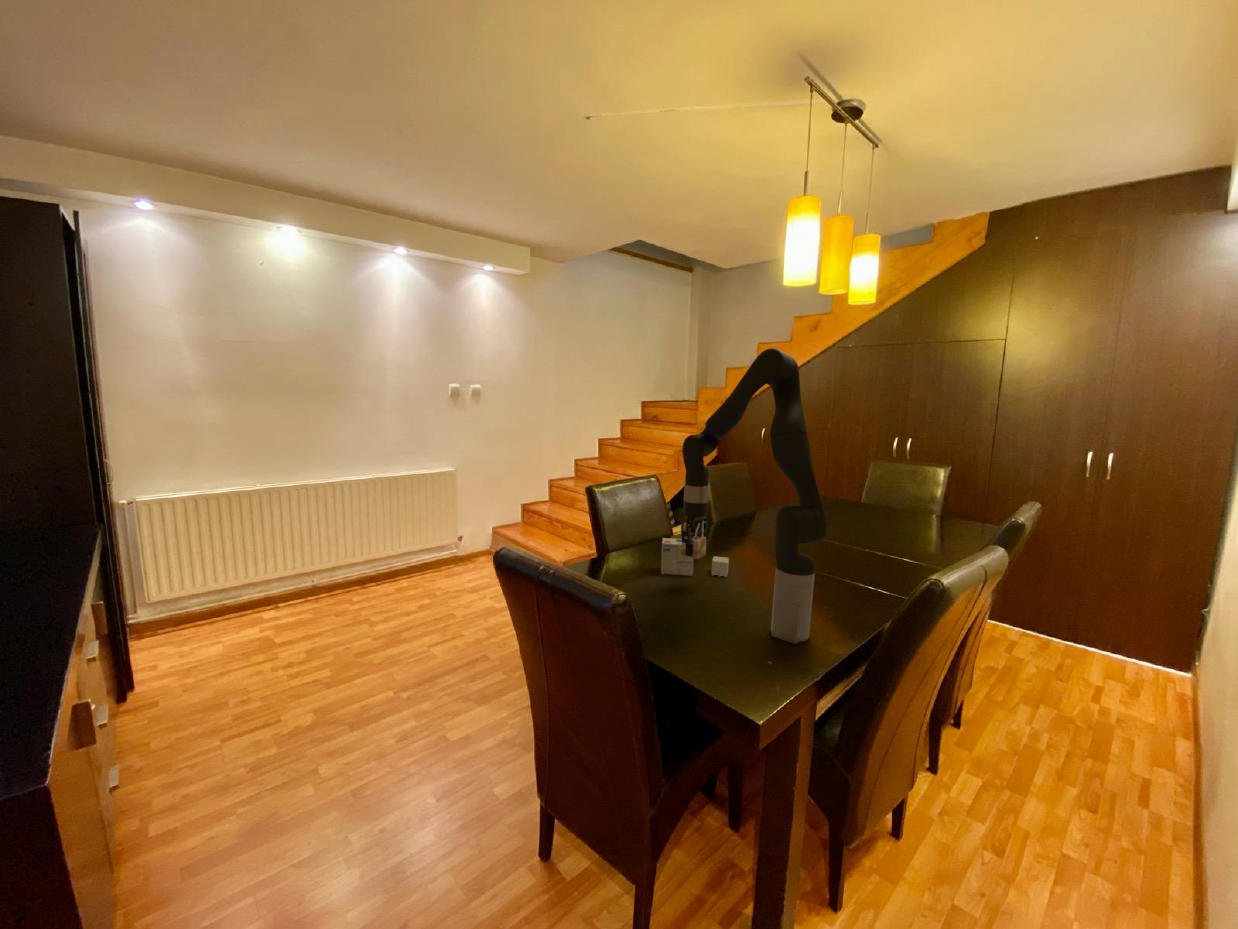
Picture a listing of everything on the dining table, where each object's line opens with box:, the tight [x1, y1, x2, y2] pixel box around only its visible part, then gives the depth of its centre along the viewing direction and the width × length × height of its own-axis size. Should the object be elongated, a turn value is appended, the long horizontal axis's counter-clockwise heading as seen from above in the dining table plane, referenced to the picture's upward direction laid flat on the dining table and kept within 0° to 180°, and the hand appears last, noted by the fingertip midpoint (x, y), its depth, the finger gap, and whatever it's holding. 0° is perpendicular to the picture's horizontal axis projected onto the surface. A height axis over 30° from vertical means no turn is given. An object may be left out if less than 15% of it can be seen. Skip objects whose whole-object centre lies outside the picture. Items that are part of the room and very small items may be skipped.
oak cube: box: [681, 536, 707, 560], centre depth 153 cm, size 6×6×6 cm
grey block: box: [711, 555, 730, 578], centre depth 166 cm, size 5×5×5 cm
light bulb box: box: [660, 537, 694, 577], centre depth 166 cm, size 11×7×11 cm, turn 84°
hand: (693, 553), depth 153 cm, fingers closed on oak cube, 5 cm apart
